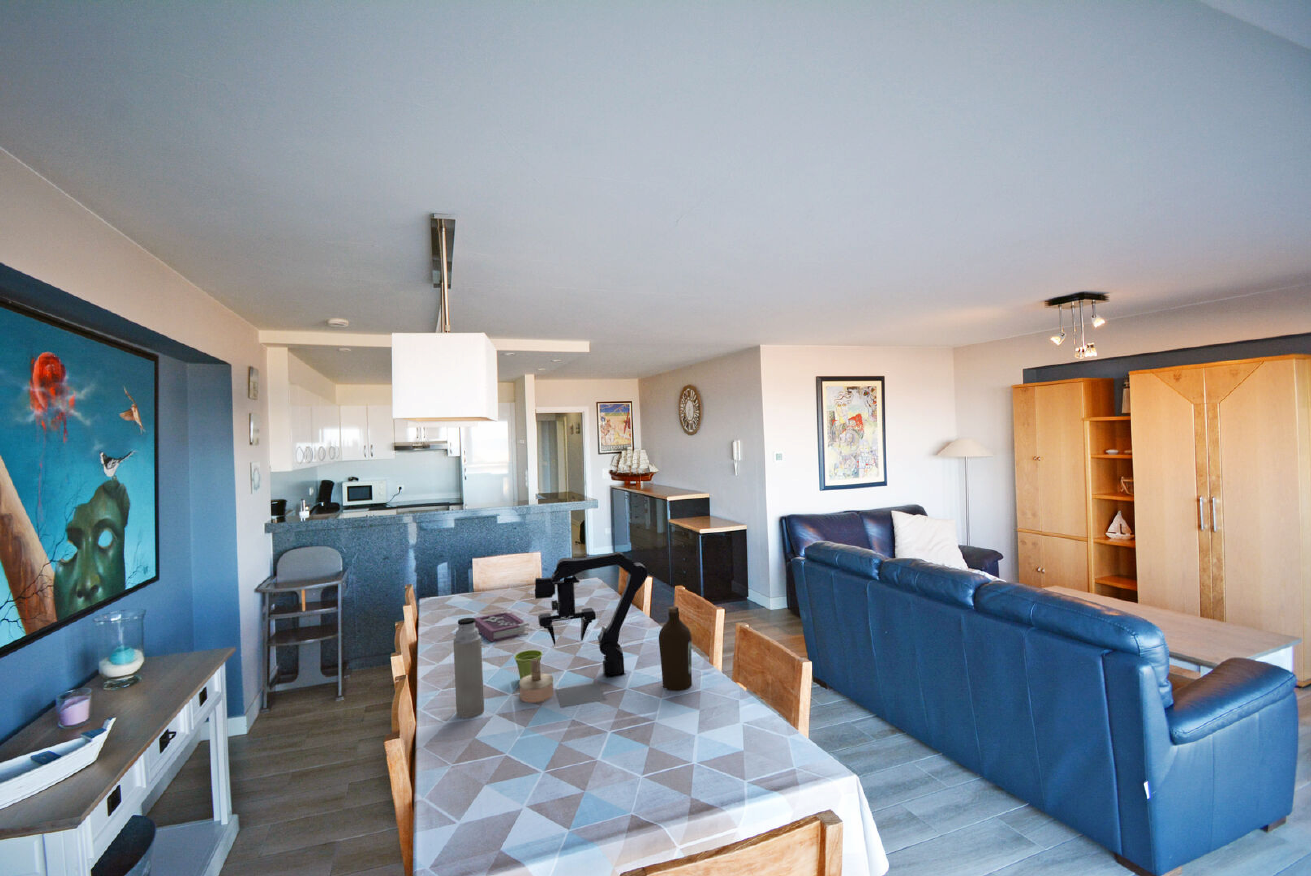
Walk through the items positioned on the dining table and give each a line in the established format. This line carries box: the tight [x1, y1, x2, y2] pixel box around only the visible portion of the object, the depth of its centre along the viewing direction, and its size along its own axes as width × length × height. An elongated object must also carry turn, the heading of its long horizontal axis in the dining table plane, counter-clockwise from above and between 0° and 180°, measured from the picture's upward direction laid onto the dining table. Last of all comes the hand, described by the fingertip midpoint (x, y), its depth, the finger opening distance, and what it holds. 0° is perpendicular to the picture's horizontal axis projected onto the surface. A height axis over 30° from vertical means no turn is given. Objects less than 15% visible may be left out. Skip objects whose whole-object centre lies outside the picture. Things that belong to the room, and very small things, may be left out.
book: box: [473, 610, 530, 643], centre depth 257 cm, size 25×16×5 cm, turn 33°
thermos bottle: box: [453, 617, 485, 719], centre depth 178 cm, size 8×8×28 cm
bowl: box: [519, 682, 554, 704], centre depth 186 cm, size 10×10×4 cm
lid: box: [518, 659, 554, 690], centre depth 186 cm, size 10×10×7 cm
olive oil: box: [658, 605, 693, 692], centre depth 191 cm, size 11×11×25 cm
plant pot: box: [513, 649, 544, 681], centre depth 200 cm, size 9×9×9 cm
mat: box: [554, 682, 608, 709], centre depth 185 cm, size 14×14×1 cm
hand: (568, 642), depth 199 cm, fingers open, 9 cm apart
